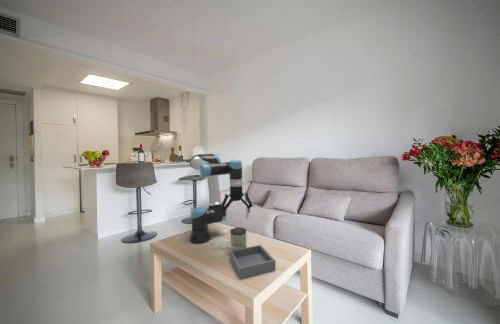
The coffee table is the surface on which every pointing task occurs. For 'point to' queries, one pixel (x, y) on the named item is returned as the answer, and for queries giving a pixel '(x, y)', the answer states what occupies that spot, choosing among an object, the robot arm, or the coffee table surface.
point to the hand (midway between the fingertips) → (236, 219)
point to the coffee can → (238, 238)
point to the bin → (251, 261)
